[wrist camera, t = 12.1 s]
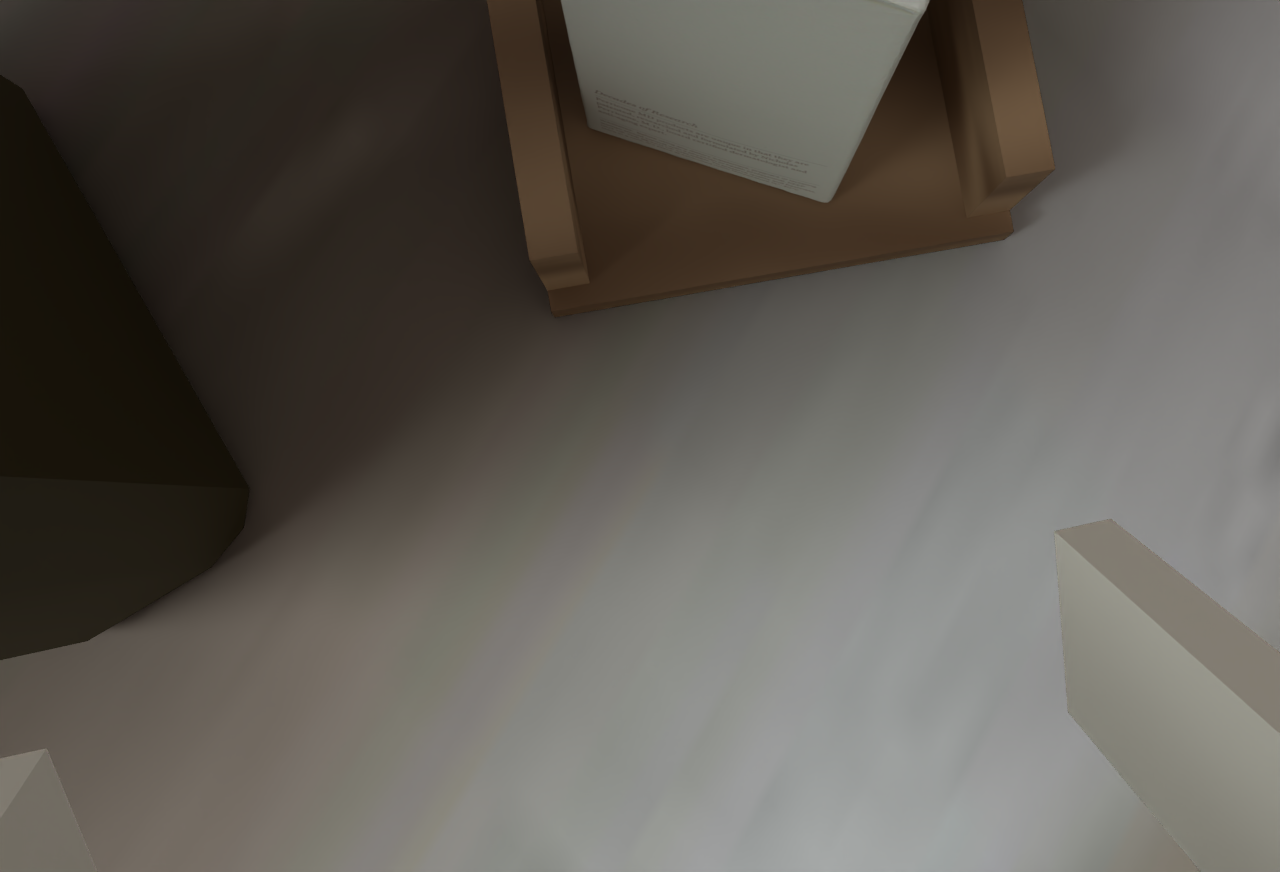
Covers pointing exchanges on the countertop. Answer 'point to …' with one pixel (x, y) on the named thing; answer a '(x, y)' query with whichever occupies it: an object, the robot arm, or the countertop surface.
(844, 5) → the supplement box
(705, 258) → the u rest
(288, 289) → the countertop surface
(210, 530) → the bottle
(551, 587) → the countertop surface
